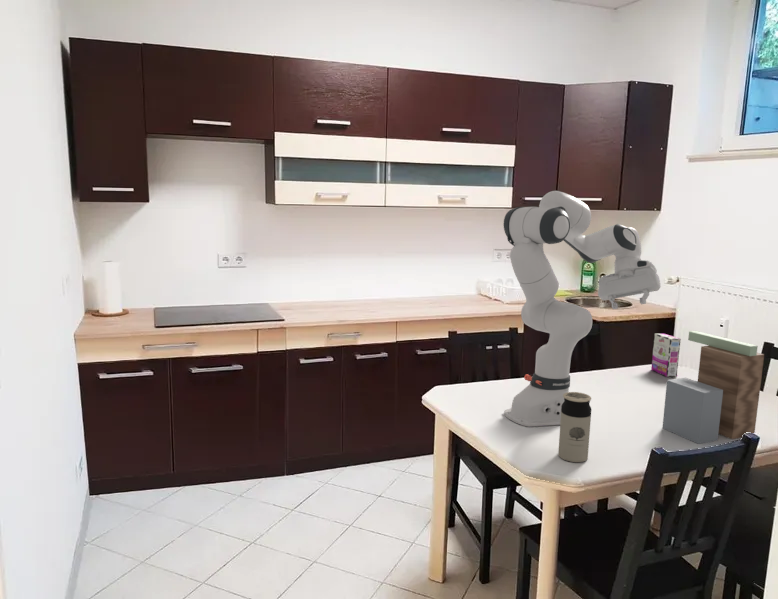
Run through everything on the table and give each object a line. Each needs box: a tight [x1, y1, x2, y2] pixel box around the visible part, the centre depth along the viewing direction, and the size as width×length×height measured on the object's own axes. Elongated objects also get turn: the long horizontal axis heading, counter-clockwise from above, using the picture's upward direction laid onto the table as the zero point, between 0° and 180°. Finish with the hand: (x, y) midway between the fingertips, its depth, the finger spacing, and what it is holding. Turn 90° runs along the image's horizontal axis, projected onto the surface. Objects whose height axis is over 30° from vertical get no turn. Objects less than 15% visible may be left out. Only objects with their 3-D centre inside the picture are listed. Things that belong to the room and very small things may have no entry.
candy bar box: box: [650, 333, 682, 378], centre depth 250 cm, size 11×5×16 cm, turn 10°
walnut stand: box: [697, 345, 765, 440], centre depth 188 cm, size 10×14×26 cm
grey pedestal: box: [661, 377, 723, 445], centre depth 184 cm, size 8×14×16 cm, turn 23°
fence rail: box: [688, 330, 758, 356], centre depth 189 cm, size 3×22×3 cm, turn 23°
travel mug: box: [557, 391, 592, 463], centre depth 165 cm, size 8×8×18 cm
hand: (628, 305), depth 199 cm, fingers open, 8 cm apart
